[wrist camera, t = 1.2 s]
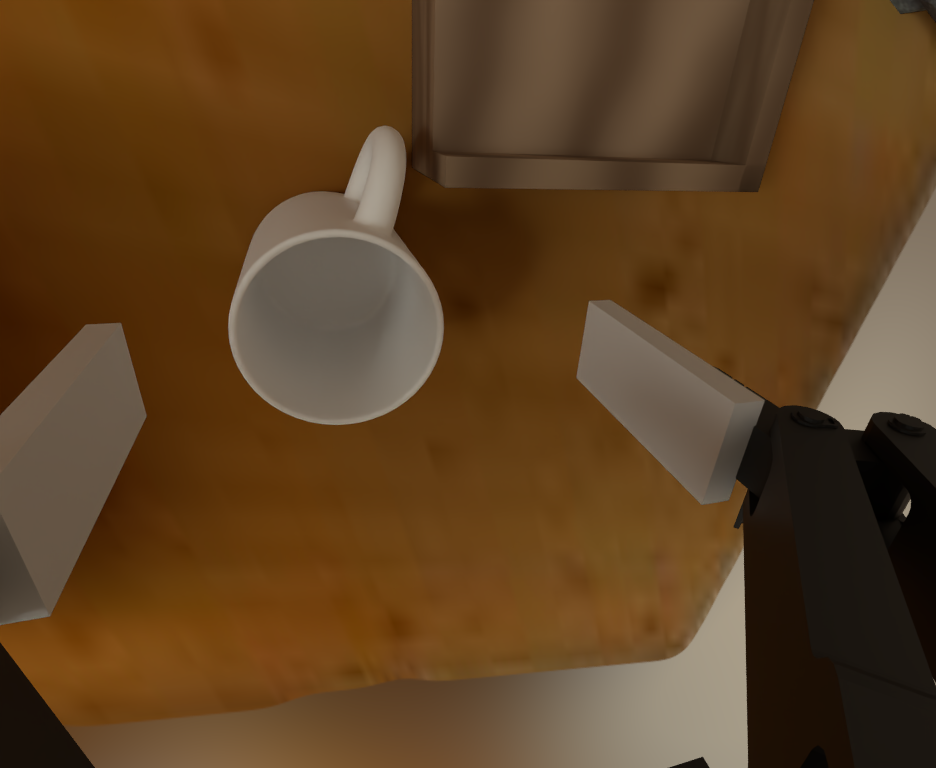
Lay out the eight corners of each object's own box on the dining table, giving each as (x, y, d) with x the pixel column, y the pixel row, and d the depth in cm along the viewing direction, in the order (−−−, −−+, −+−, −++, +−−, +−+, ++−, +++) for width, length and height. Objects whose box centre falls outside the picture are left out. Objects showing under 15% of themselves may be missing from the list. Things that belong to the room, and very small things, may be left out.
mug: (296, 83, 25) (297, 74, 16) (450, 158, 28) (517, 185, 20) (231, 308, 29) (203, 399, 20) (372, 350, 32) (400, 443, 24)
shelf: (412, 167, 28) (445, 187, 22) (411, -233, 21) (461, -375, 15) (667, 173, 32) (758, 191, 26) (738, -158, 25) (884, -243, 19)
